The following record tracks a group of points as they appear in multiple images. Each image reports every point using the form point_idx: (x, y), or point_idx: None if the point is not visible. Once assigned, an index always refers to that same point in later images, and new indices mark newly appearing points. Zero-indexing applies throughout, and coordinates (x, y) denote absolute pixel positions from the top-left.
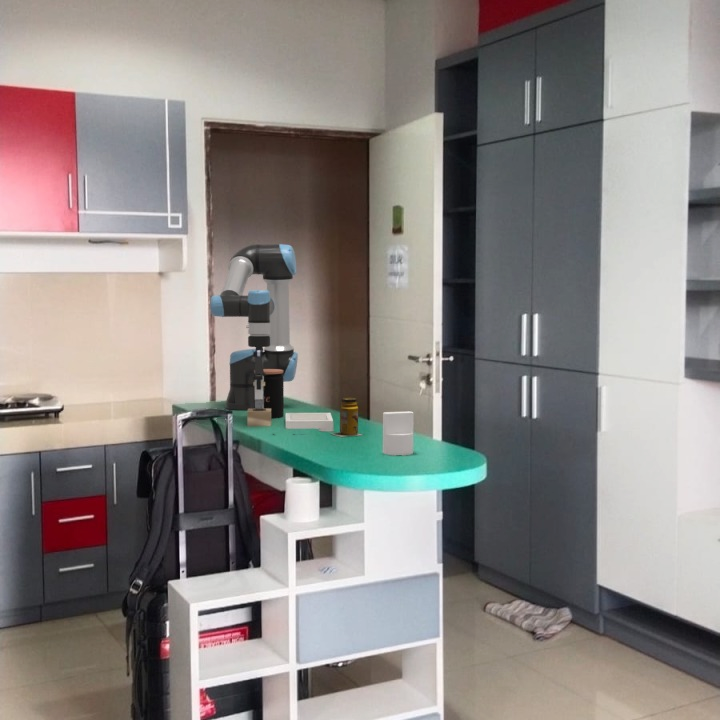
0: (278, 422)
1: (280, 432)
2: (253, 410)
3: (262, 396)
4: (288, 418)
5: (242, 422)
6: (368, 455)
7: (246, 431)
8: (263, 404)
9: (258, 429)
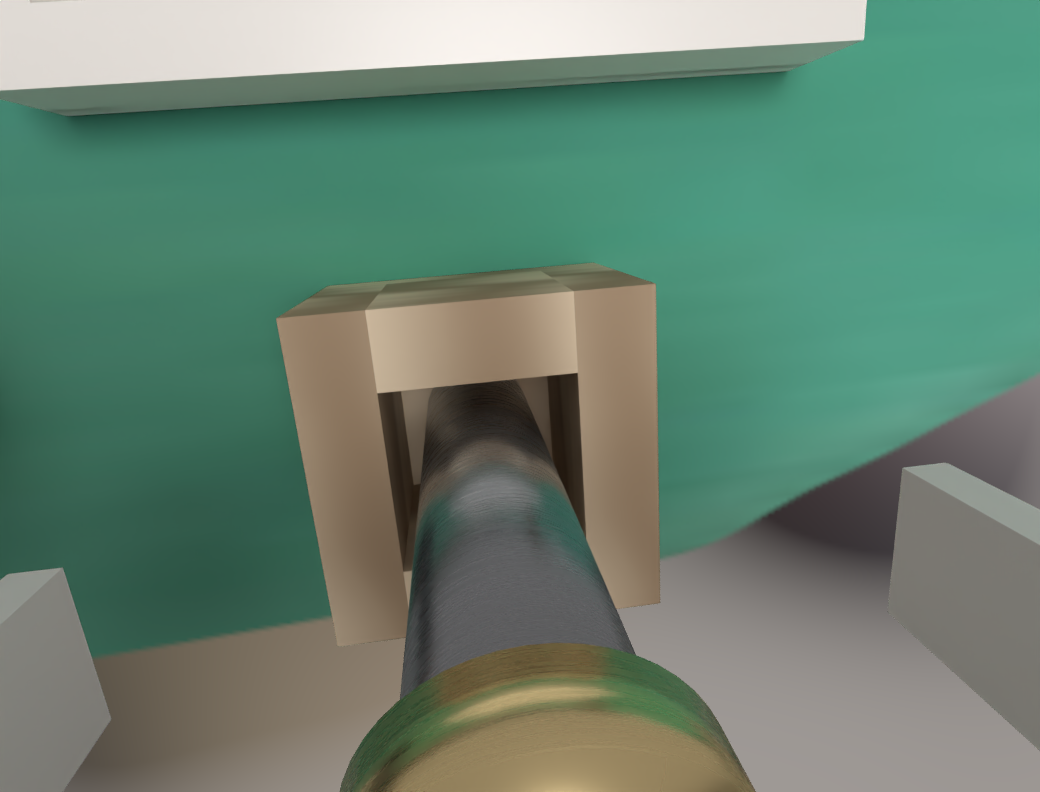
0: (52, 217)
1: (831, 131)
2: (405, 558)
3: (991, 492)
4: (596, 7)
5: (143, 618)
6: None
7: (736, 486)
8: (510, 445)
9: None
